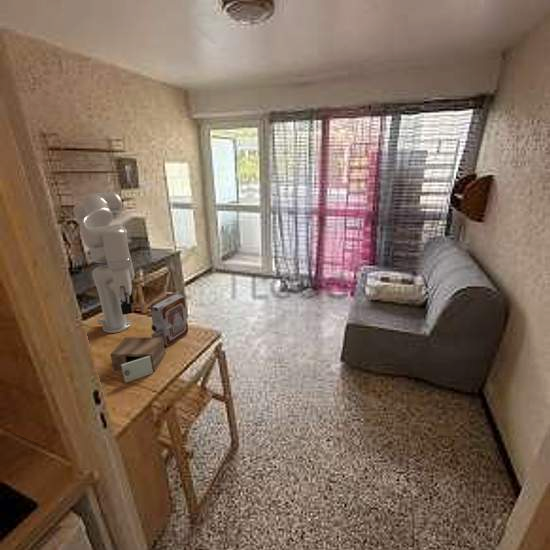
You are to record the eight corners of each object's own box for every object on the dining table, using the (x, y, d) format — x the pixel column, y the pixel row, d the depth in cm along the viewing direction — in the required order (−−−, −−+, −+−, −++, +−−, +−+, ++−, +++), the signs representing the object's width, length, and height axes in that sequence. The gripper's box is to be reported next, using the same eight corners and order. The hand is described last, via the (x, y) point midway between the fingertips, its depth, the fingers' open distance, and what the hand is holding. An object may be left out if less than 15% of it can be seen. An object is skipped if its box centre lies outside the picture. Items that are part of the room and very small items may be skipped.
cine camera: (144, 349, 142) (136, 307, 135) (176, 329, 158) (171, 291, 151) (159, 355, 138) (152, 312, 131) (191, 333, 154) (186, 294, 147)
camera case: (114, 371, 127) (110, 354, 125) (128, 353, 139) (124, 337, 136) (154, 371, 127) (151, 354, 124) (165, 354, 138) (162, 337, 135)
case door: (125, 384, 120) (122, 367, 117) (124, 381, 121) (121, 364, 119) (153, 374, 125) (151, 358, 122) (152, 372, 126) (149, 355, 124)
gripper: (110, 259, 122) (119, 301, 127) (104, 272, 106) (114, 320, 112) (132, 256, 124) (140, 298, 130) (129, 269, 109) (138, 316, 114)
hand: (128, 308), depth 121 cm, fingers open, 9 cm apart
